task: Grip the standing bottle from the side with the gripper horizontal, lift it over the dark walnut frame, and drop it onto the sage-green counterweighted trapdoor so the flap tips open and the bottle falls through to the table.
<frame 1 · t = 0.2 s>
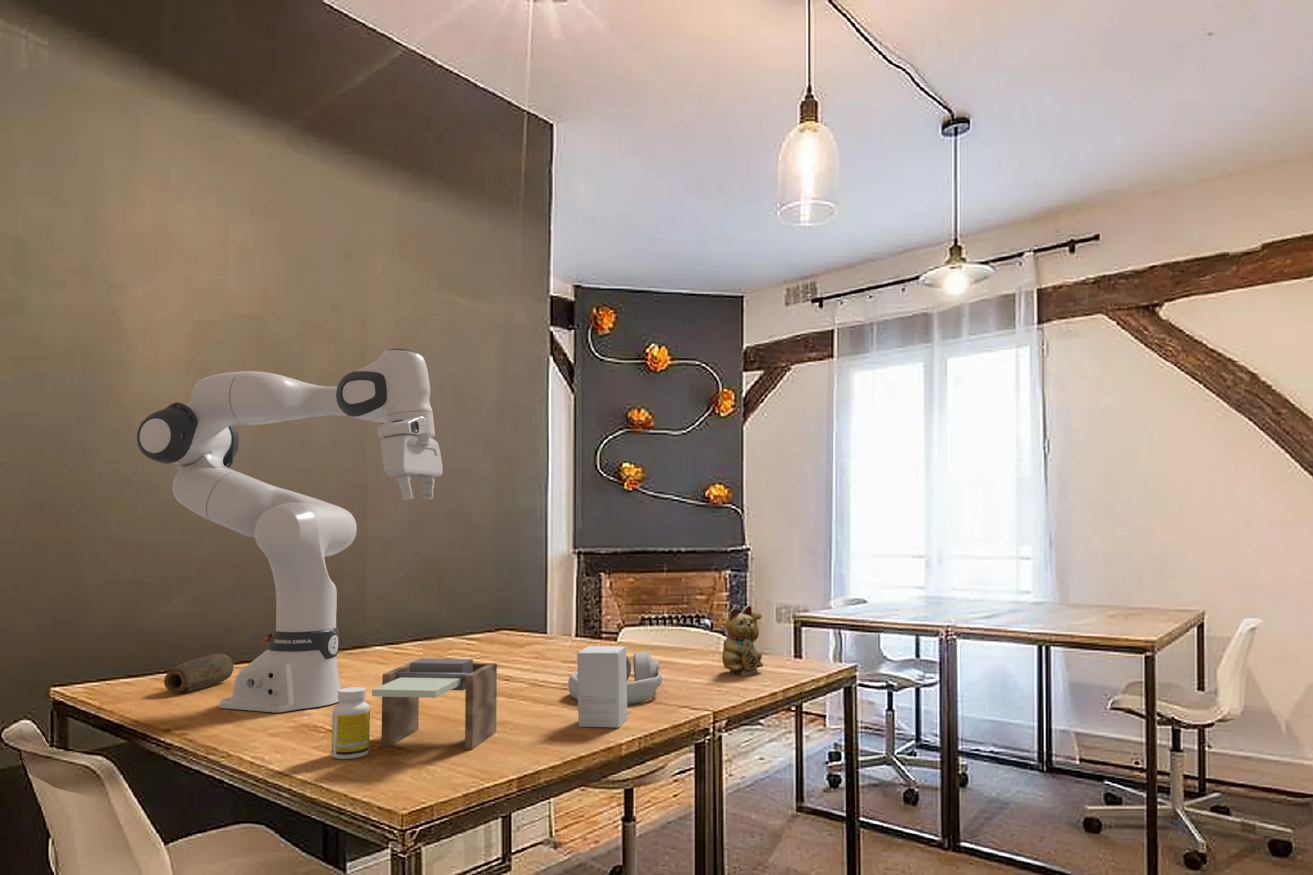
hand: (418, 499, 168), 39 cm above the table, tool pointing down, fingers open, 8 cm apart
decorative figurine: (740, 673, 194), on the table
supplement bottle: (350, 756, 130), on the table
brown hollow rounded cylinder: (199, 690, 183), on the table
supplement box: (603, 724, 149), on the table
trapdoor: (426, 681, 134), point 10 cm above the table, hinge at 0.0°
walnut frame: (431, 744, 136), on the table
headphones: (617, 697, 172), on the table
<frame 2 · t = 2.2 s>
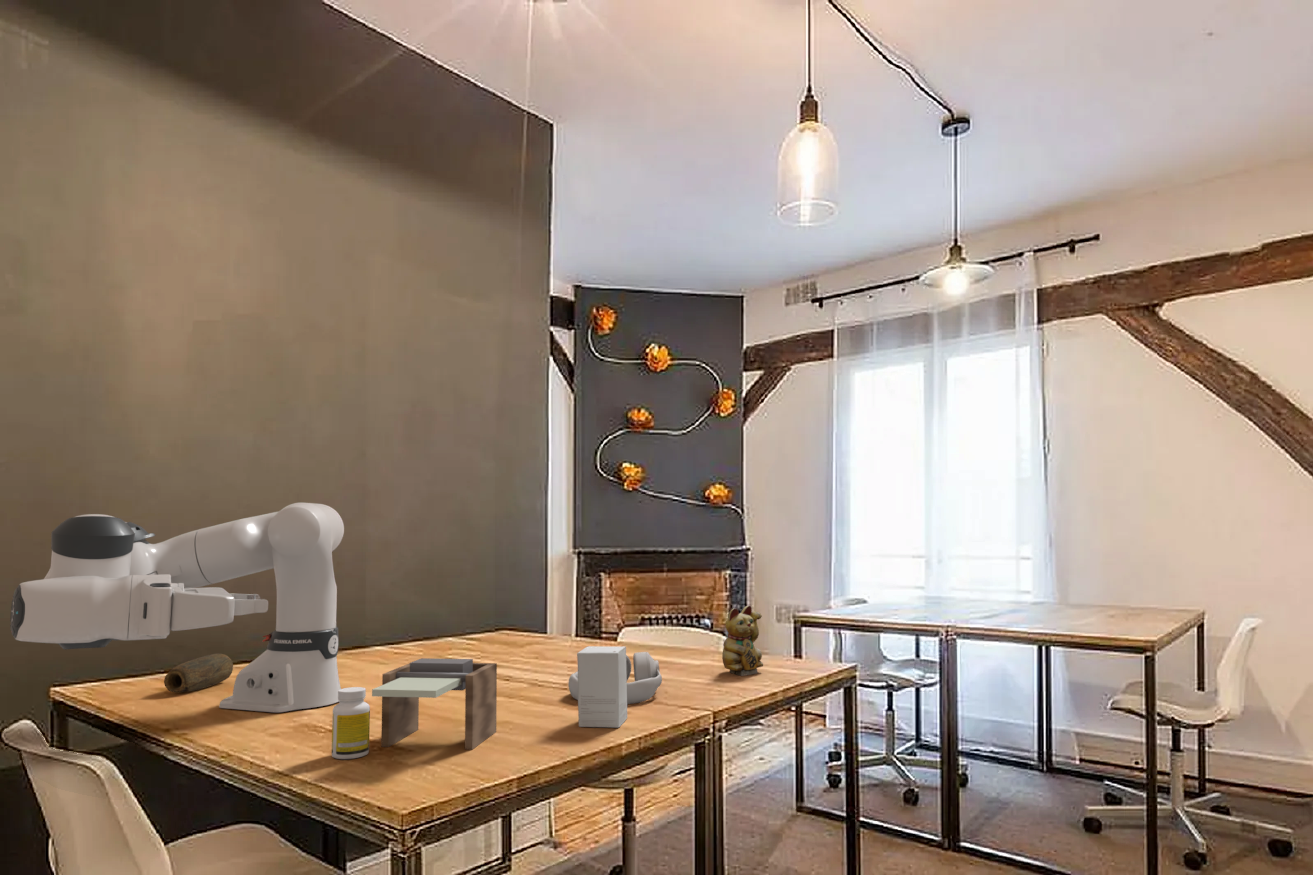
hand: (263, 602, 126), 24 cm above the table, tool horizontal, fingers open, 8 cm apart
nothing on the table moved.
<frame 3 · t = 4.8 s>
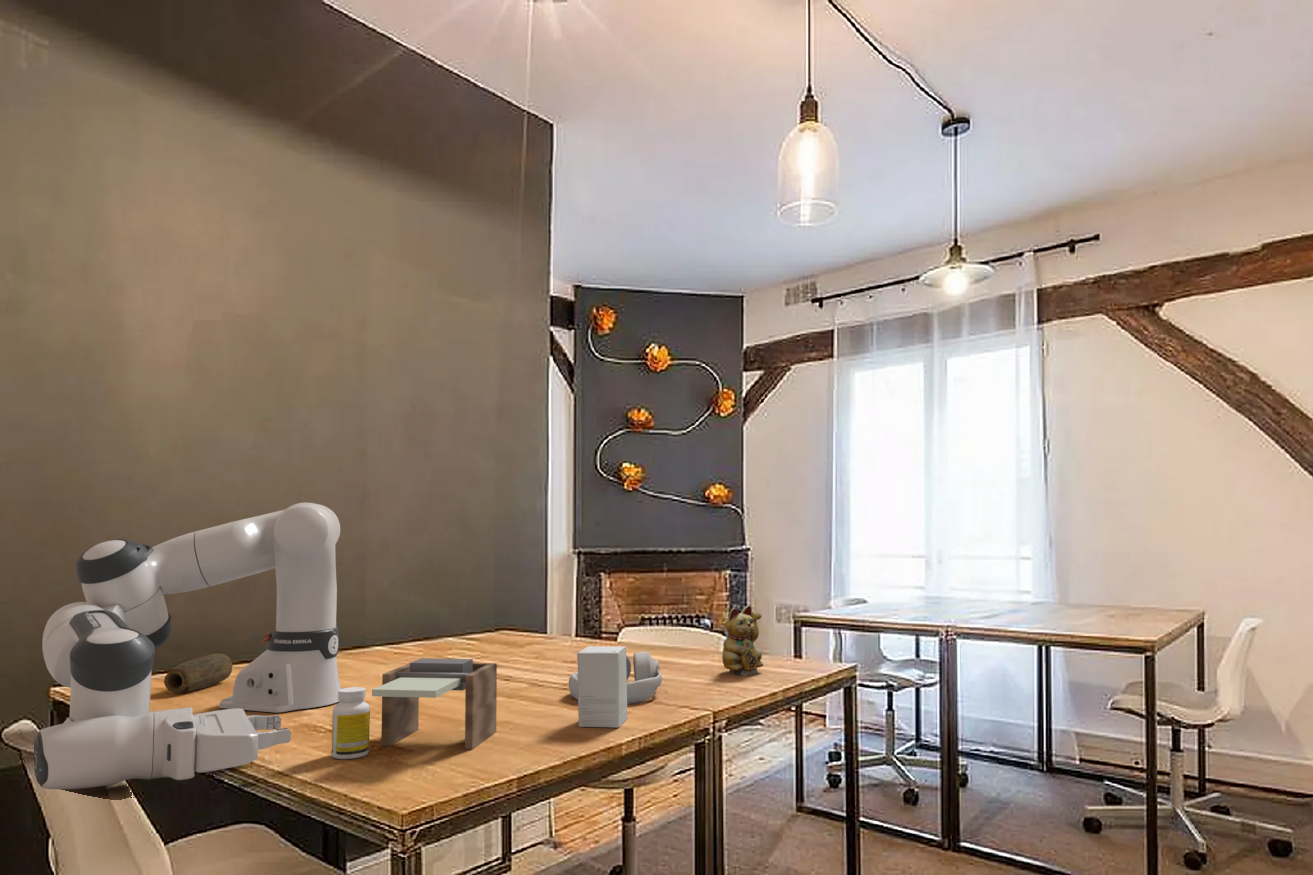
hand: (285, 728, 126), 5 cm above the table, tool horizontal, fingers open, 8 cm apart
nothing on the table moved.
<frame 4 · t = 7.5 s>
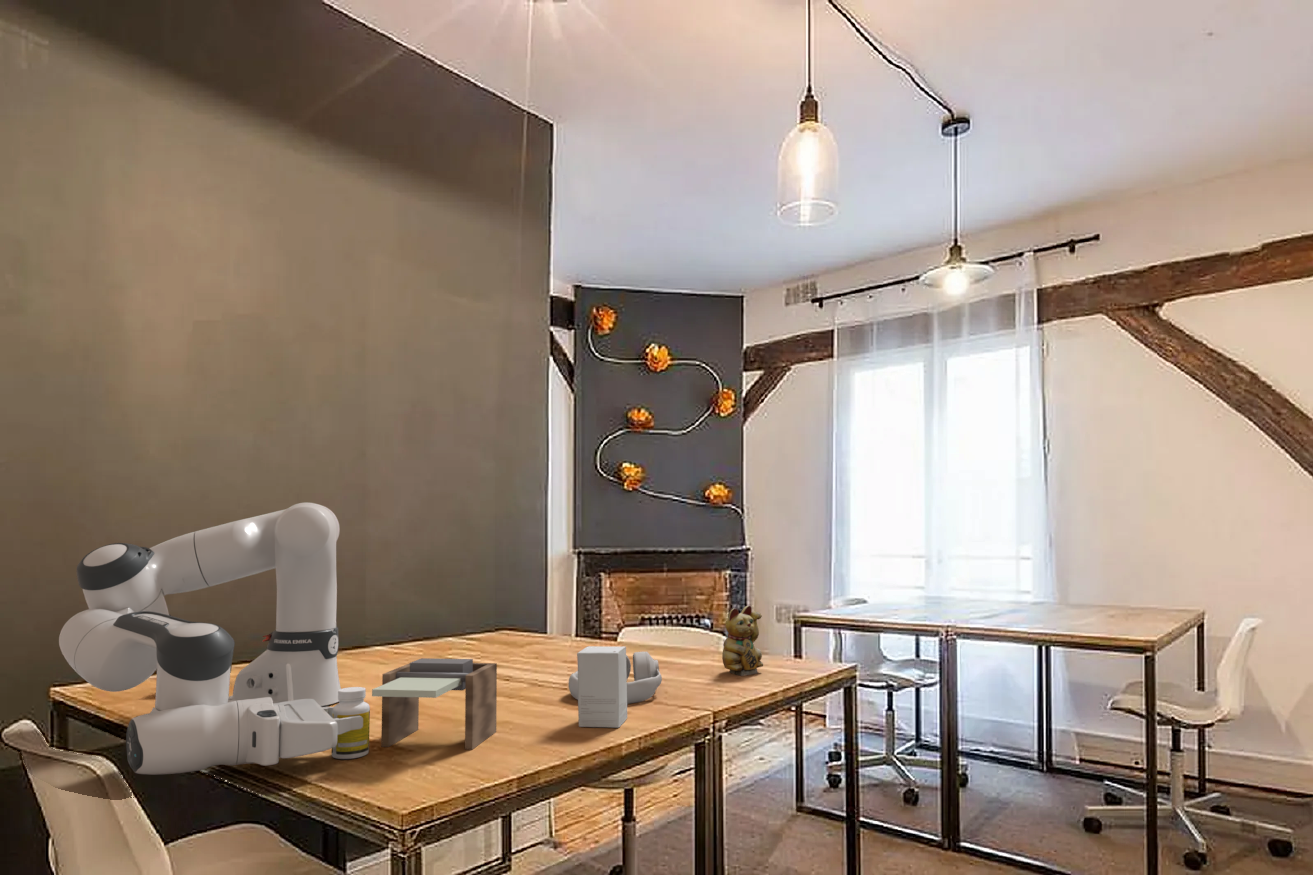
hand: (357, 716, 131), 6 cm above the table, tool horizontal, fingers closed on supplement bottle, 5 cm apart
supplement bottle: (350, 756, 130), on the table, touching gripper
everything else where it was.
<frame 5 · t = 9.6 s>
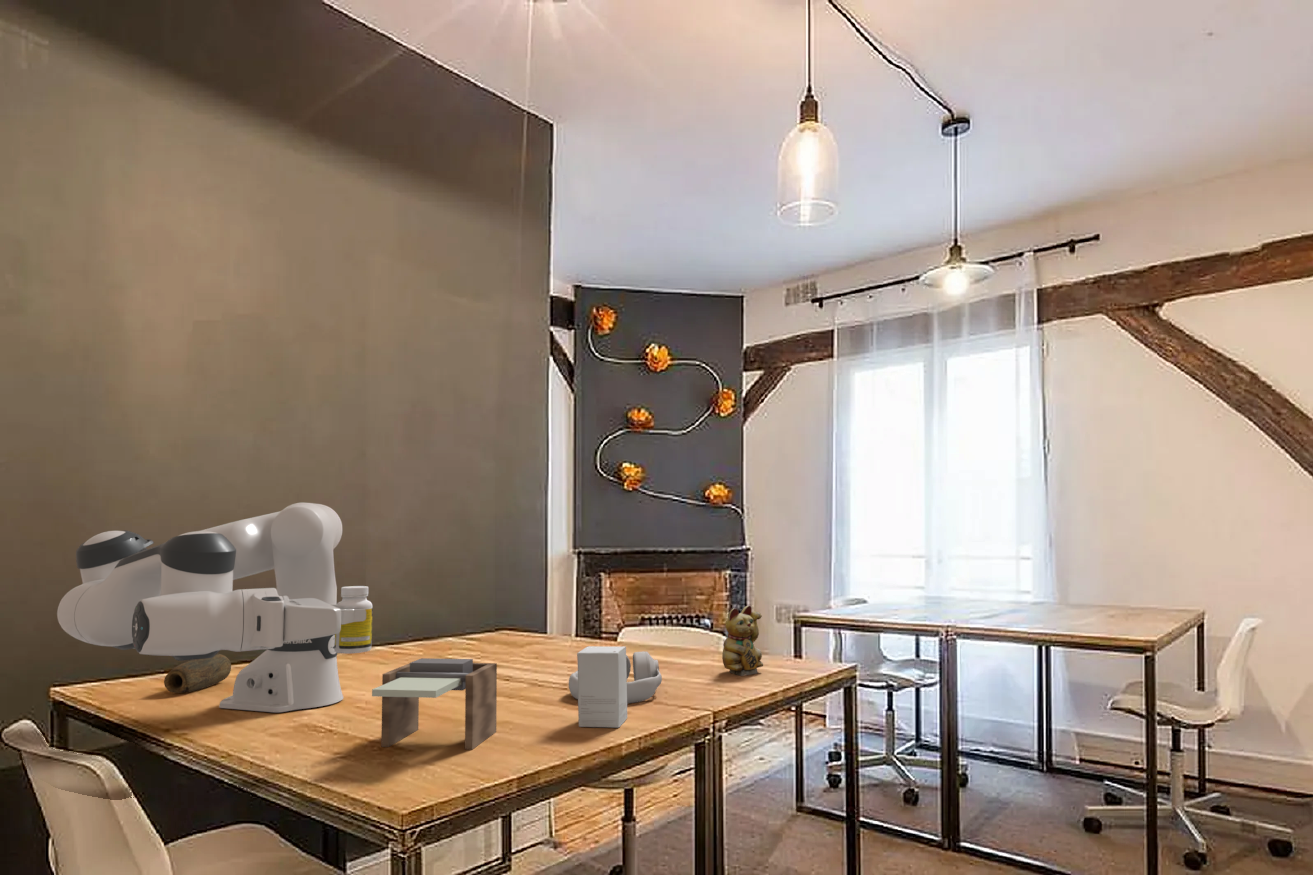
hand: (360, 612, 133), 21 cm above the table, tool horizontal, fingers closed on supplement bottle, 5 cm apart
supplement bottle: (353, 652, 132), point 15 cm above the table, touching gripper
everything else where it was.
when the fingers open (19 cm above the table, at t = 11.8 s): supplement bottle drops 10 cm, point 3 cm above the table.
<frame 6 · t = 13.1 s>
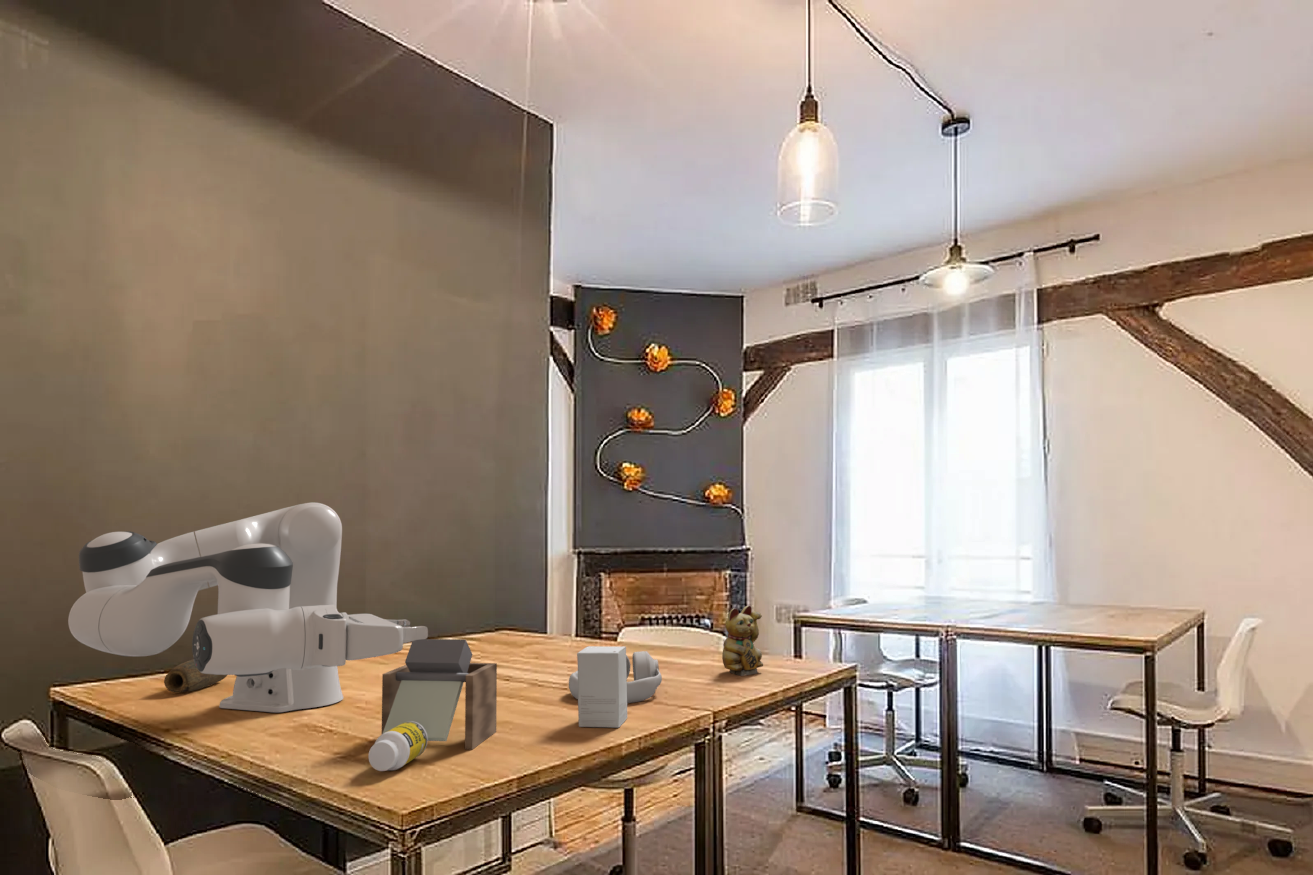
hand: (417, 628, 131), 19 cm above the table, tool horizontal, fingers open, 8 cm apart
supplement bottle: (412, 738, 129), point 3 cm above the table
trapdoor: (428, 690, 135), point 9 cm above the table, hinge at -47.3°
everything else where it was.
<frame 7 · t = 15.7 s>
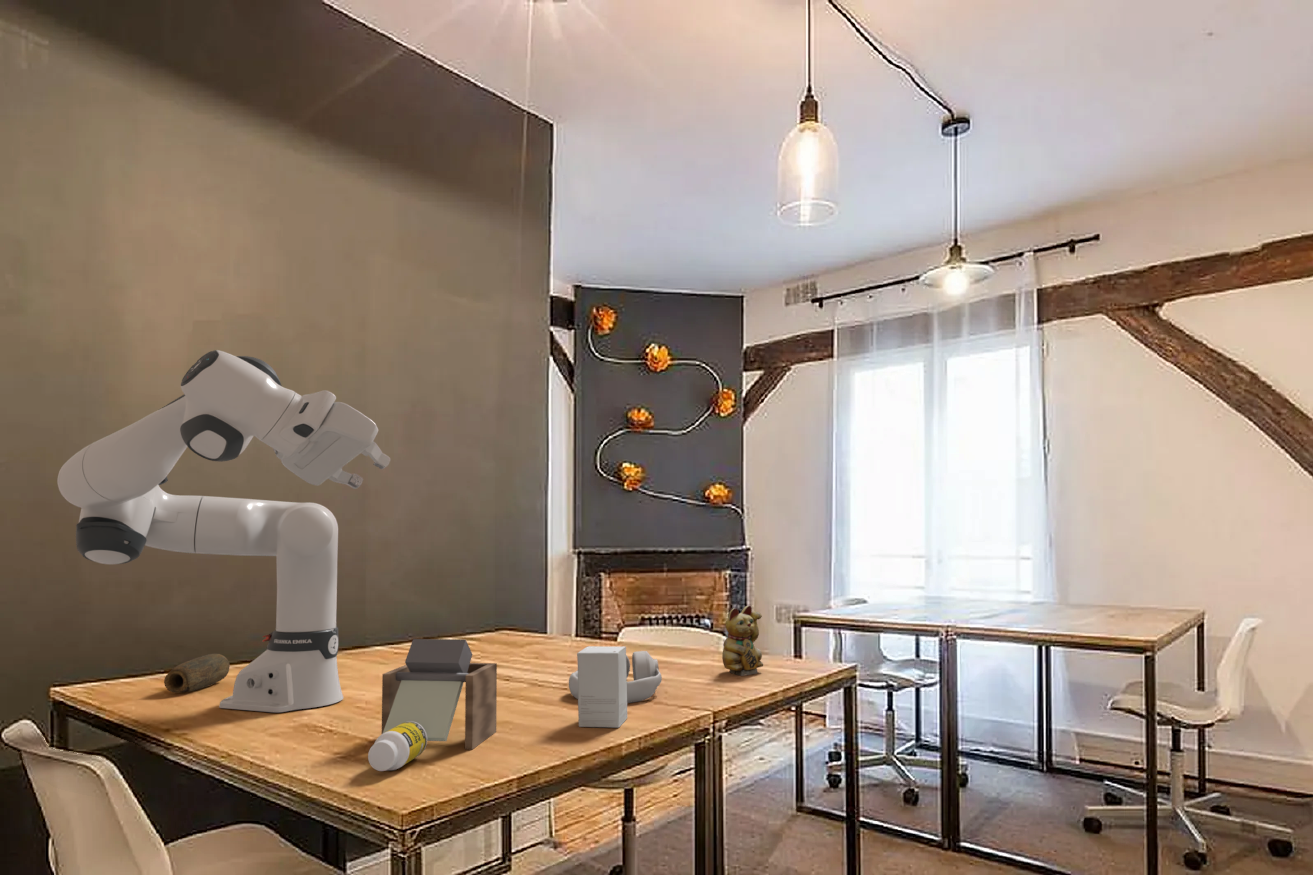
hand: (373, 474, 136), 43 cm above the table, tool tilted 60°, fingers open, 8 cm apart
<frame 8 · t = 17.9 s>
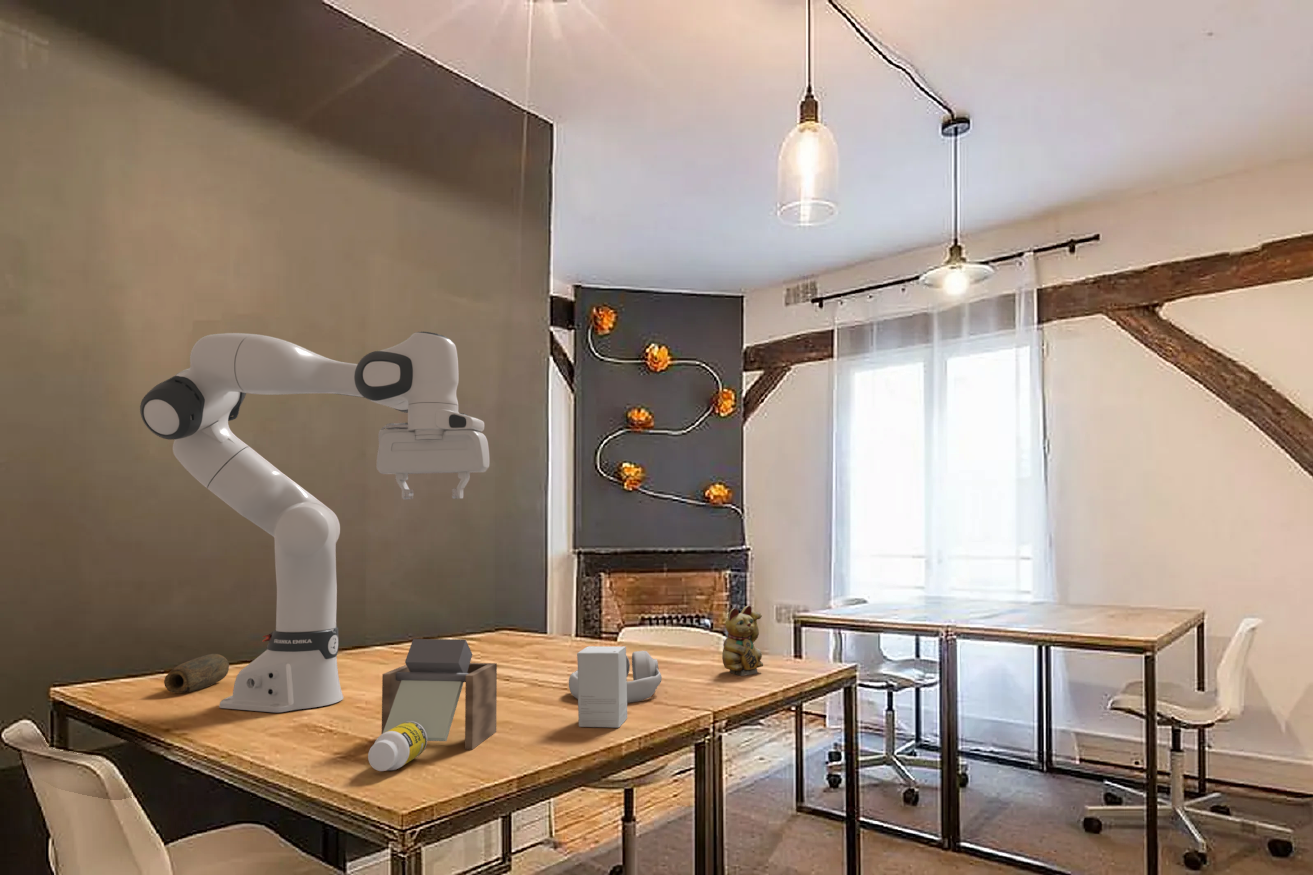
hand: (432, 499, 153), 39 cm above the table, tool pointing down, fingers open, 8 cm apart
at the end: supplement bottle point 2.7 cm above the table; supplement bottle moved 10.2 cm from its start; supplement bottle inside the target area (3.1 cm from its centre), point 2.7 cm above the table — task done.
